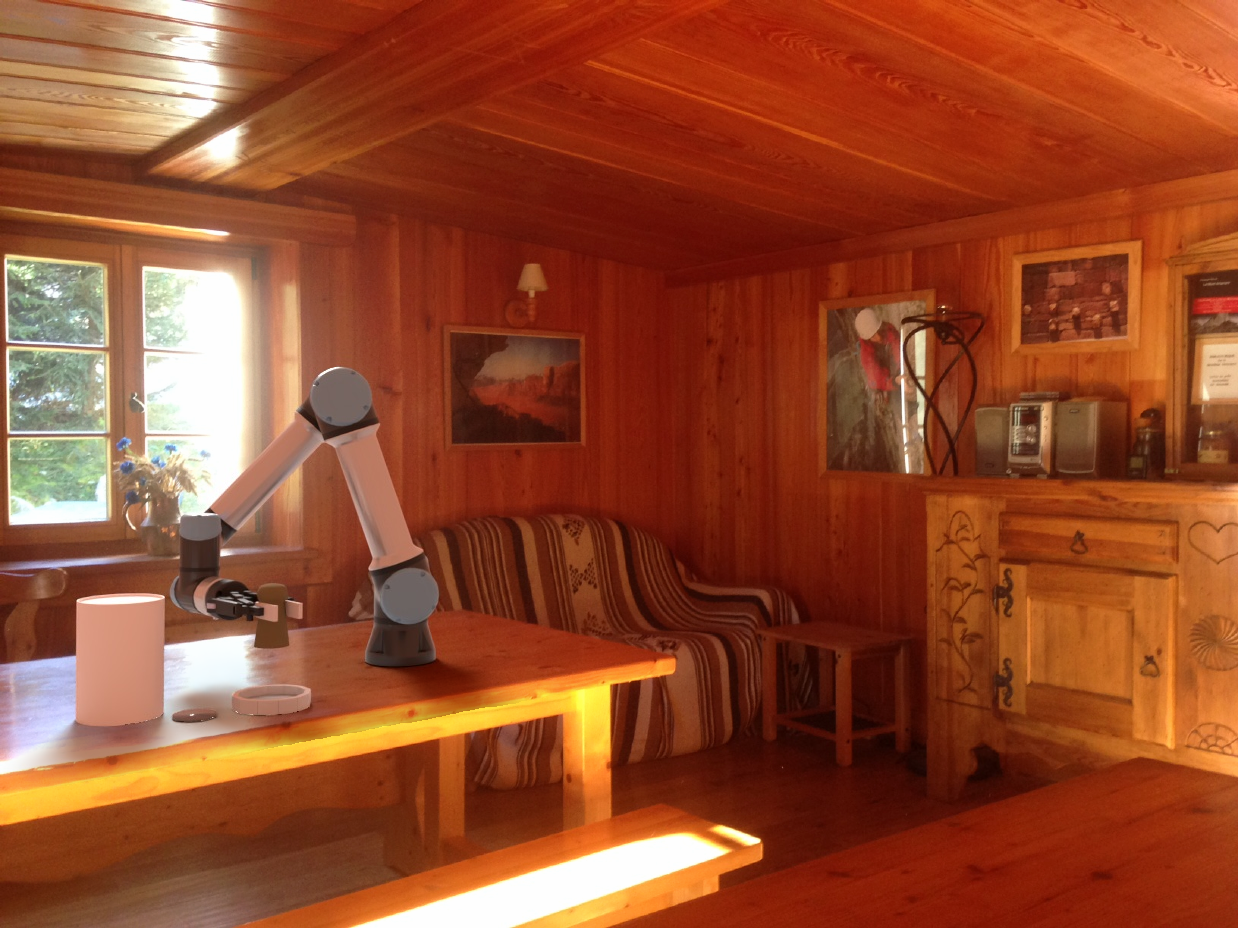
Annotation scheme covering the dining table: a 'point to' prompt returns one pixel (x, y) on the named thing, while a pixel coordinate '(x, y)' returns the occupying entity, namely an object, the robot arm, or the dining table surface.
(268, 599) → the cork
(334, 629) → the dining table surface
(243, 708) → the pink flat ring
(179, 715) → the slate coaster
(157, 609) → the canister
